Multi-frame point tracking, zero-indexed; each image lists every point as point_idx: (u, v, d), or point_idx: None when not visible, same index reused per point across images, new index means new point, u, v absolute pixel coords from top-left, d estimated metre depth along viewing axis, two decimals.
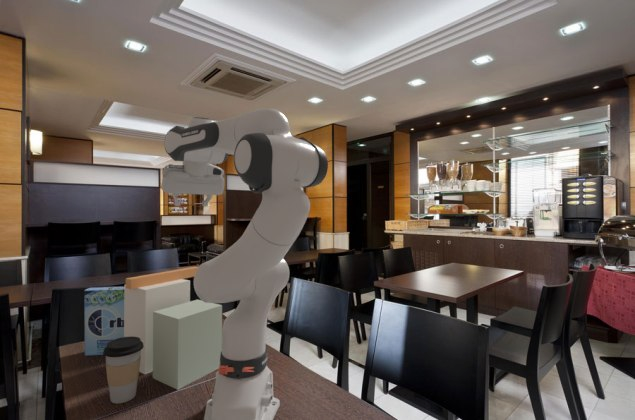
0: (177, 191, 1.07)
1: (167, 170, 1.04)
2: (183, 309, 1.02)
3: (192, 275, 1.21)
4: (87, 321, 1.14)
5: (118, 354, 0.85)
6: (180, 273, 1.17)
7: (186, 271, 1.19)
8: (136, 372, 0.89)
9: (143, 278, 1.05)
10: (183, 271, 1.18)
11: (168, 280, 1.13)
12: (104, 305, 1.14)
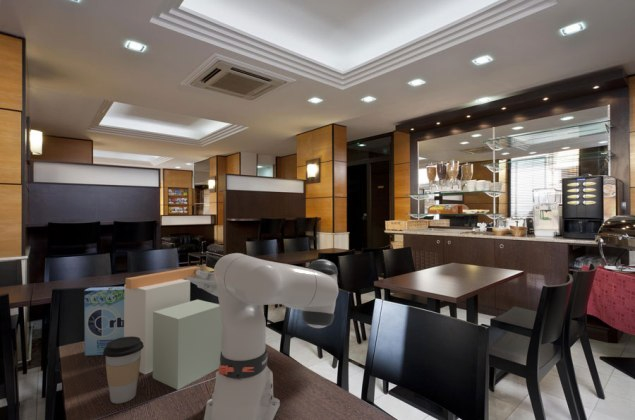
0: (210, 282, 1.23)
1: None
2: (183, 309, 1.02)
3: (192, 275, 1.21)
4: (87, 321, 1.14)
5: (118, 354, 0.85)
6: (180, 273, 1.17)
7: (186, 271, 1.19)
8: (136, 372, 0.89)
9: (143, 278, 1.05)
10: (183, 271, 1.18)
11: (168, 280, 1.13)
12: (104, 305, 1.14)
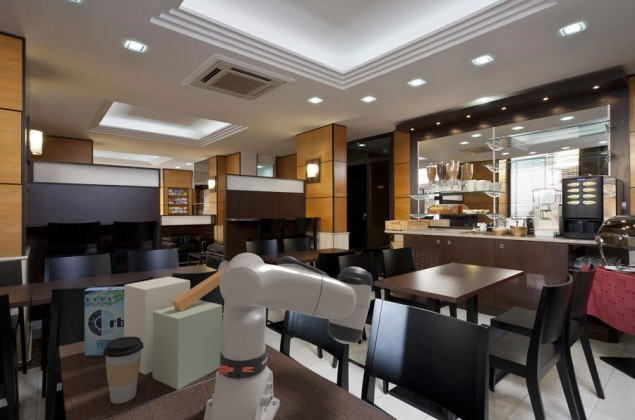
0: None
1: None
2: None
3: None
4: (87, 321, 1.14)
5: (118, 354, 0.85)
6: None
7: None
8: (136, 372, 0.89)
9: (189, 296, 1.02)
10: None
11: (213, 287, 1.10)
12: (104, 305, 1.14)
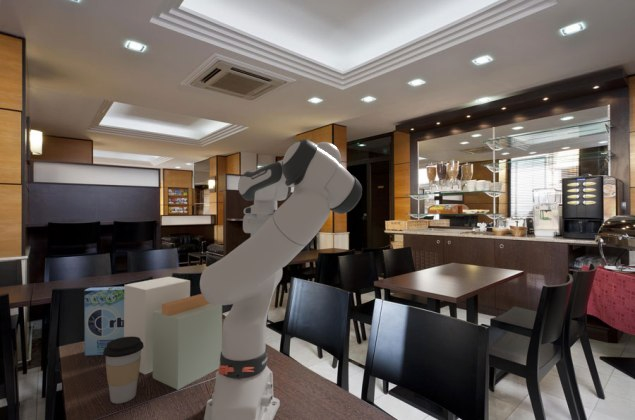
0: None
1: None
2: None
3: None
4: (87, 321, 1.14)
5: (118, 354, 0.85)
6: None
7: None
8: (136, 372, 0.89)
9: (180, 303, 0.99)
10: None
11: (204, 304, 1.06)
12: (104, 305, 1.14)
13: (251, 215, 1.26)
